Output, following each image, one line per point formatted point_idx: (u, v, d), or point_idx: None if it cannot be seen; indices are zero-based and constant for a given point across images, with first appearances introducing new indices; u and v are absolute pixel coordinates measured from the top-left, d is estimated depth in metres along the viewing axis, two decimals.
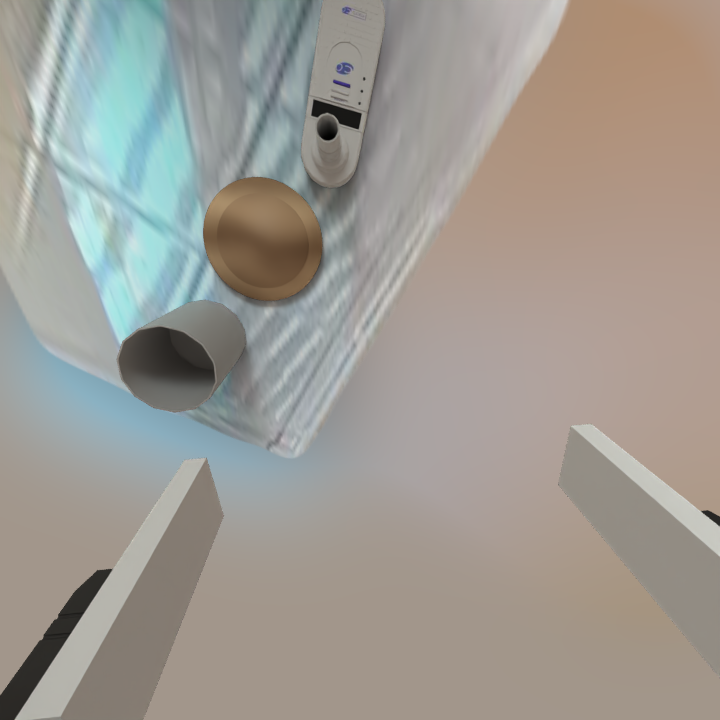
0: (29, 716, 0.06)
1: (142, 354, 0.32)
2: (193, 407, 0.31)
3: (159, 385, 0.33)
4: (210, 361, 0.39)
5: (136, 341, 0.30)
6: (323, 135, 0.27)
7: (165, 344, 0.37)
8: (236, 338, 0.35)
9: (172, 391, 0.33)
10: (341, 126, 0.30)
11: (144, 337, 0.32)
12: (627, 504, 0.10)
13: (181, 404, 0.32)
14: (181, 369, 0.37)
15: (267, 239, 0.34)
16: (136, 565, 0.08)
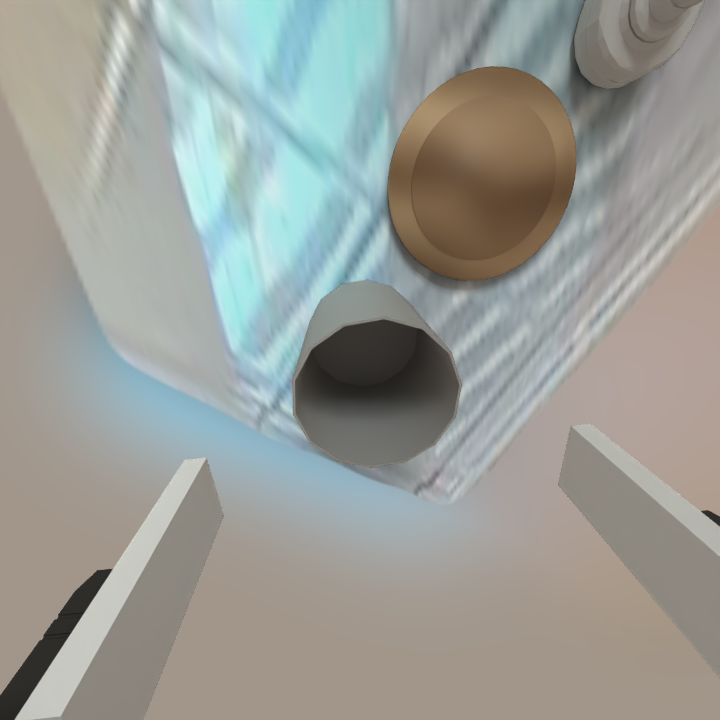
0: (29, 715, 0.06)
1: (302, 367, 0.19)
2: (401, 459, 0.18)
3: (324, 418, 0.20)
4: (363, 373, 0.26)
5: None
6: None
7: None
8: (427, 339, 0.23)
9: (342, 426, 0.21)
10: None
11: None
12: (627, 504, 0.10)
13: (370, 450, 0.19)
14: (329, 386, 0.24)
15: (490, 178, 0.21)
16: (136, 565, 0.08)
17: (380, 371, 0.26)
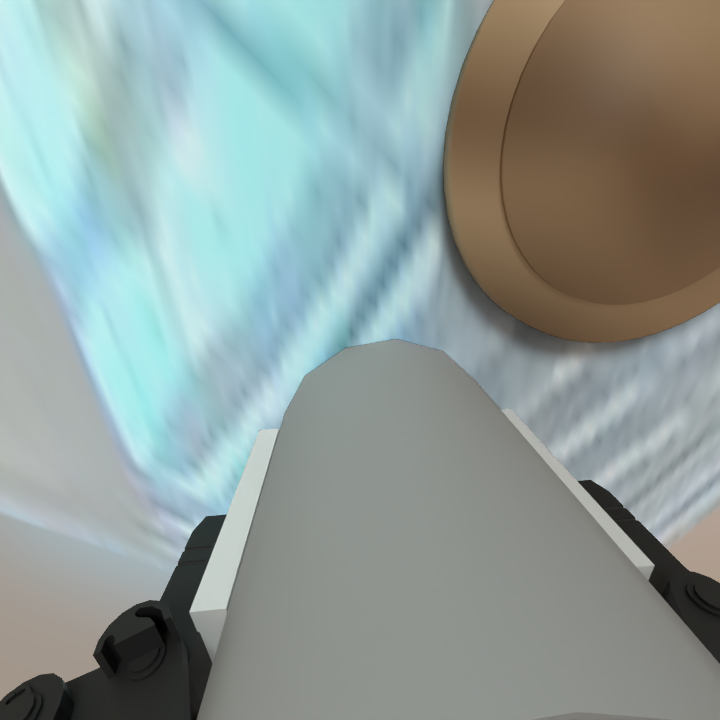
0: (199, 609, 0.07)
1: None
2: None
3: None
4: None
5: None
6: None
7: None
8: None
9: None
10: None
11: None
12: None
13: None
14: None
15: (678, 129, 0.09)
16: (247, 508, 0.09)
17: None
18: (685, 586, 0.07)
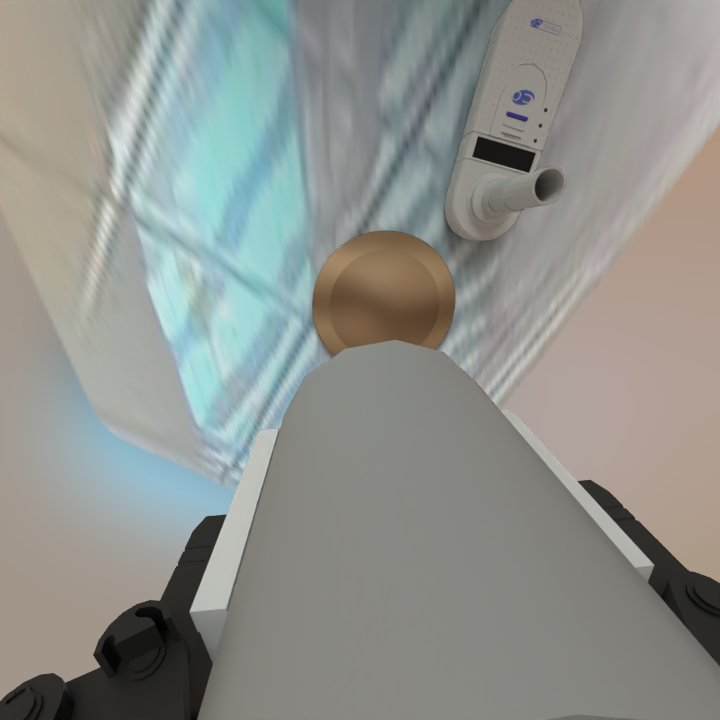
0: (200, 609, 0.07)
1: None
2: None
3: None
4: None
5: None
6: None
7: None
8: None
9: None
10: (508, 169, 0.23)
11: None
12: None
13: None
14: None
15: (389, 303, 0.28)
16: (247, 508, 0.09)
17: None
18: (685, 586, 0.07)
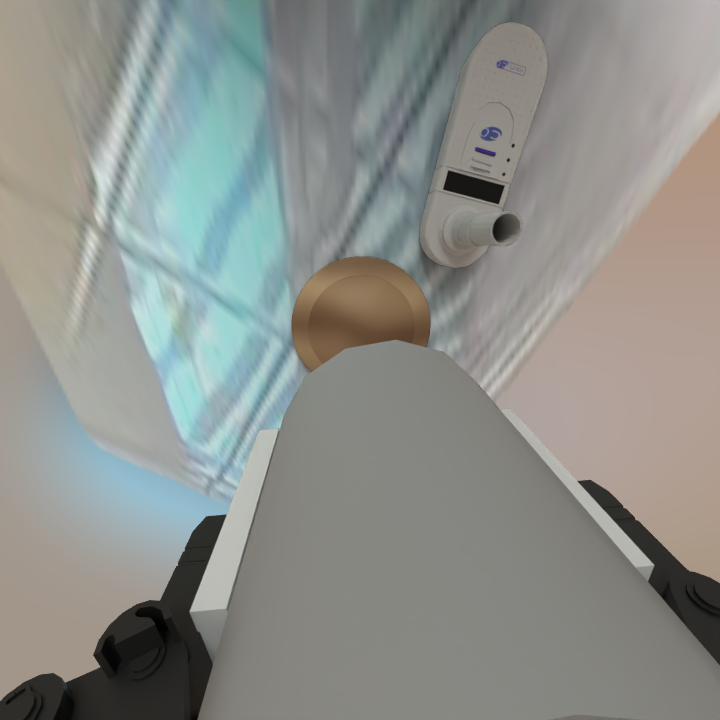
0: (200, 609, 0.07)
1: None
2: None
3: None
4: None
5: None
6: None
7: None
8: None
9: None
10: (478, 201, 0.24)
11: None
12: None
13: None
14: None
15: (366, 325, 0.29)
16: (247, 508, 0.09)
17: None
18: (685, 586, 0.07)
